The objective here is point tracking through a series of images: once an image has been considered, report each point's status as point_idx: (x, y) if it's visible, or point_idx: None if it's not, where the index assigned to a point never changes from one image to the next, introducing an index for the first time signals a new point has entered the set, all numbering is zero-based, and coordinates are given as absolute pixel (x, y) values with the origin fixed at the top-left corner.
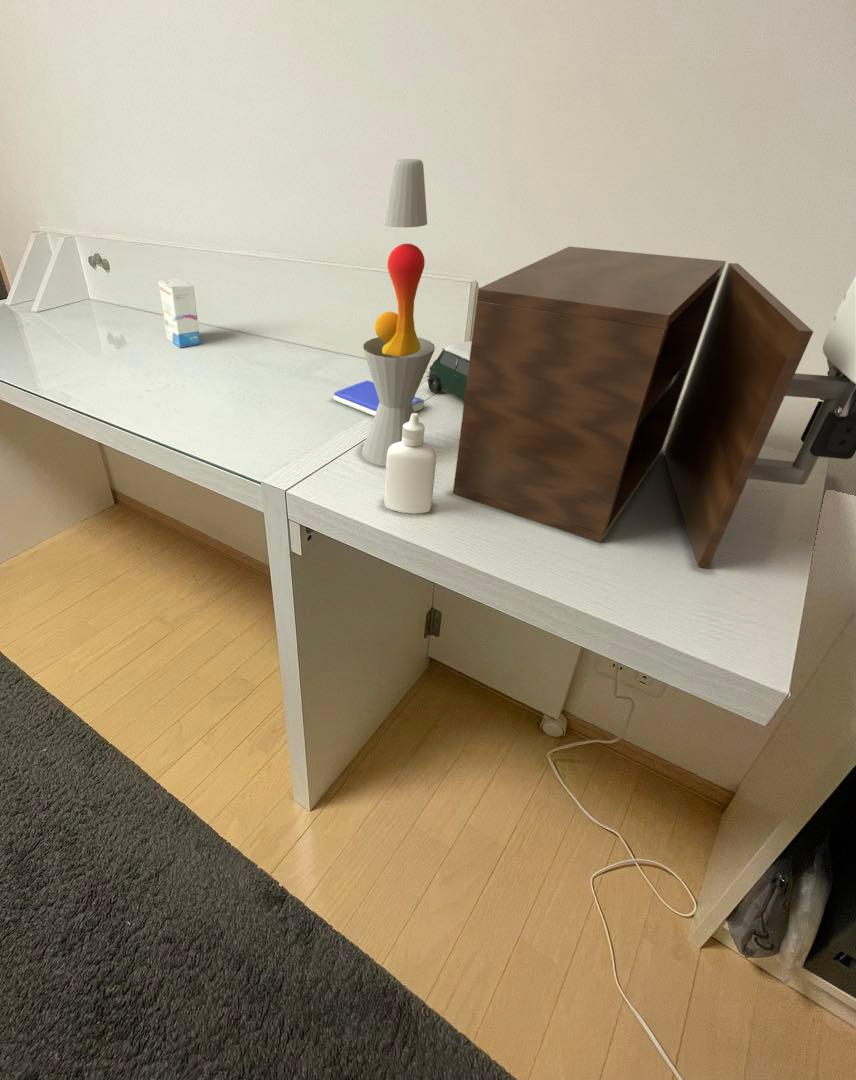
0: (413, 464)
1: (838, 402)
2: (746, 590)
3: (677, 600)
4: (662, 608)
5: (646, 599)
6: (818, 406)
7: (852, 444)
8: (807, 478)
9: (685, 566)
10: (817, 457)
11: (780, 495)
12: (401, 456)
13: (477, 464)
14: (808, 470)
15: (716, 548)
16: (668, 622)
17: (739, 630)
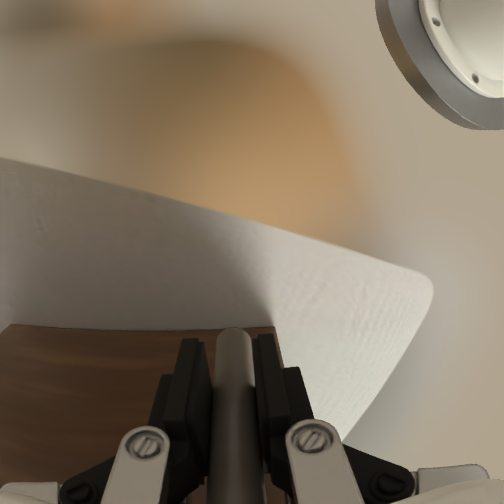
0: None
1: (266, 498)
2: (306, 289)
3: (341, 353)
4: (356, 364)
5: (344, 375)
6: (204, 477)
7: (300, 377)
8: (245, 338)
9: None
10: (249, 370)
11: (43, 206)
12: None
13: None
14: (251, 355)
15: (278, 344)
16: (374, 358)
17: (378, 304)
